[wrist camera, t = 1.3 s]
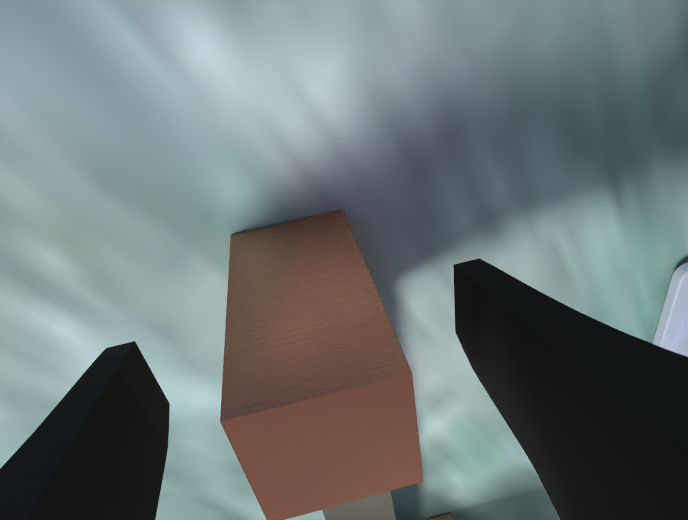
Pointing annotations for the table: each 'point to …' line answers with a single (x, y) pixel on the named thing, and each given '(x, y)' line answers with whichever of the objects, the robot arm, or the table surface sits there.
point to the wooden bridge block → (443, 517)
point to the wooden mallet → (315, 375)
